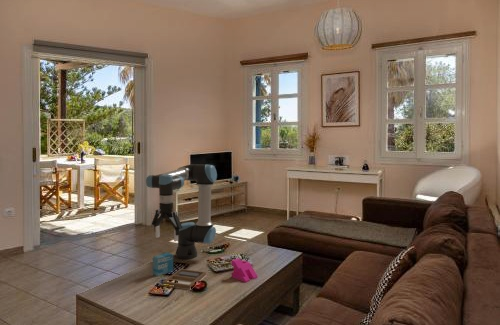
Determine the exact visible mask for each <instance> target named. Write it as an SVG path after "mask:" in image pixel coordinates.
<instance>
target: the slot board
mask: <svg viewBox="0 0 500 325" xmlns="http://www.w3.org/2000/svg"><path fill="white" fill-rule="evenodd" d="M181 271H183V272H191V273H198V274H200V276H199V277H198V278H193V277H186V276H179V275H178V274H179V273H180V272H181ZM207 276H208V275H207V272H206V271H201V270H200V271H199V270H192V269H185V268H180V269H178V270H176V272H174V273H173V274H171V275H170V276H168V277H167V278H166V279H164V280H163V281H162V284H163V283H164V284H170V285H174V286H175V287H174V288H178V289H181V290H182V289H183V290H188V291H189V290H192V289H191V286H192V285H193V284H194V283H195V282H197V281H200V282H201V281H203V279H204V278H206V277H207ZM169 280H177V281H178V283H174V282H167V281H169Z"/></svg>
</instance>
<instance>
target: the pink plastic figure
mask: <svg viewBox="0 0 500 325" xmlns="http://www.w3.org/2000/svg"><path fill="white" fill-rule="evenodd" d="M231 267H232V268H233V272H231V278H233V279H237V280H239V281H242V282H244V283H248V282H250V280H251V279H252V280H255V279H258V277H259V276H258V275H257V272H256V271H255V269H254V267H253V266H252V264H251V262H249V261H247V260H241V259H240V258H235V259H232V260H231Z"/></svg>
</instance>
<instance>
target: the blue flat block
mask: <svg viewBox="0 0 500 325" xmlns="http://www.w3.org/2000/svg"><path fill="white" fill-rule="evenodd" d="M173 271H174V254H172V253H170V252H163V253H161V254H158V255H154V256H153V257H152V274H153V276H156V277H160V276H164V275H166V274H168V273H173Z"/></svg>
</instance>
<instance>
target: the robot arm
mask: <svg viewBox="0 0 500 325" xmlns="http://www.w3.org/2000/svg"><path fill="white" fill-rule="evenodd" d="M217 178H218V173H217V169H216V167H215V165H213V164H208V163H207V164H196V163H191V164H187V165H184V166H179V167H178V168H177V169H174V170H171V171H167V172H163V173H160V174H155V175H154V174H150V175H147V177H146V178H145V185H146V186H147V188H150V189H151V188H152V189H158V190H159V191H158V193H159V195H158V196H159V200H158V201H159V209H156V210H155V213H154V217H153V219H152V222H151V226H154V232H155V234H154V235H155V238H156V239H158V238H160V237H161V234H160V232H161V230H160V227H161V226H160V224H161V222H162V221H163V220H164V219H166V220H168V221H170V224H171V225H172V226H173V228H174V229H173V237H174V238H173V240H174V241H173V242H177V247H176V250H175V258H177V259H181V260H189V259H190V260H191V259H194V258H196V257H197V256H198V251H197V247H196V243H198V244H204V245H207V244H208V245H209V244H210V245H211V244H212V243H213V241H214V240H215V239H216V235H217V229H216V227H215V226H213V222H212V220H211V218H212V215H211V214H212V187H213V186H214V183H215V182H216V181H217ZM185 181H192V182H196V183H195V184H196V186H197V187H198V195H197V196H198V199H197V201H198V205H197V206H198V208H197V210H198V211H197V212H198V213H197V222H196V223H195V222H193V221H190V222H183V223H181V221H180V218H179V214H178V211H173V209H174V203H173V202H174V191H175V190H178V189H181V188H183V187H184V185H185Z"/></svg>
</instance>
